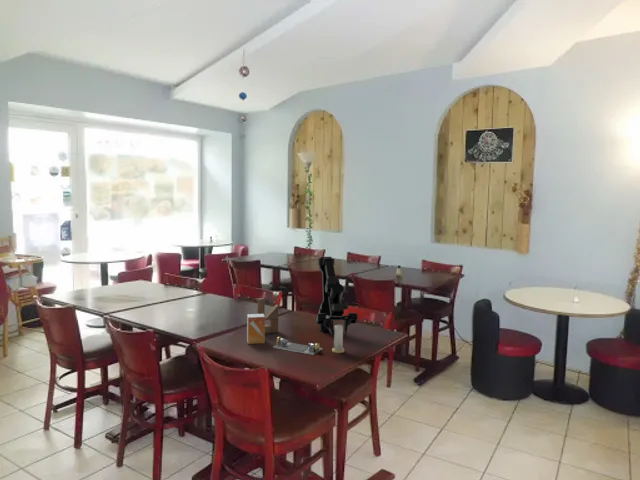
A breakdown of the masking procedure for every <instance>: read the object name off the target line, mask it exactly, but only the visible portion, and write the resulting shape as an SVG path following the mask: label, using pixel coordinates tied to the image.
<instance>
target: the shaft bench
mask: <svg viewBox="0 0 640 480" xmlns="http://www.w3.org/2000/svg"><path fill="white" fill-rule="evenodd" d="M275 341H276V342H275V343H276V345H274V346H273V347H272V348H273V349H277V350H283V351H287V352H293V353H299V354H304V355H310V356H314V355H316V354H317V353H319V352H321V351H322V350H323V347H321V344H320V343H319V342H315V343H312V342H309V343H308V344H307V345H306V344H300V343H295V342H289V340H288V339H287V338H284V337H282V336H277V338H276V340H275Z"/></svg>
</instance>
